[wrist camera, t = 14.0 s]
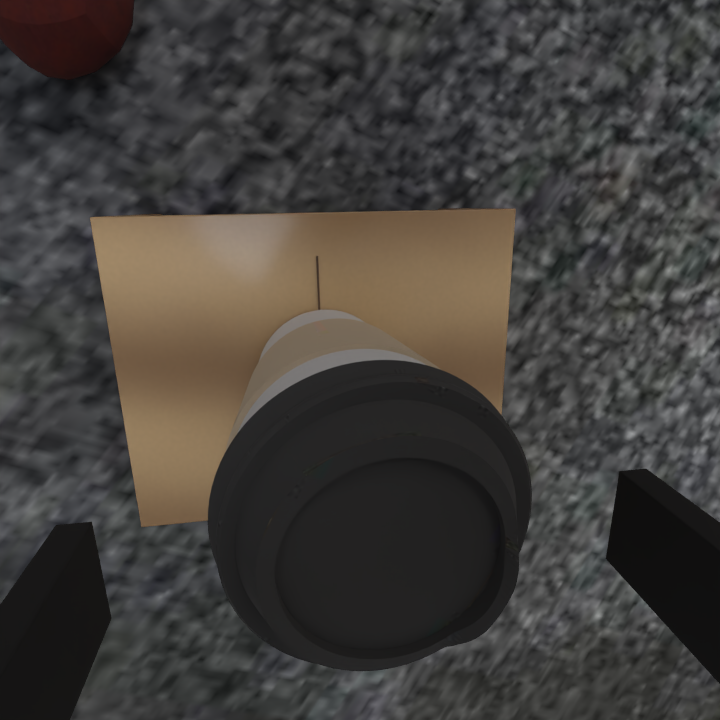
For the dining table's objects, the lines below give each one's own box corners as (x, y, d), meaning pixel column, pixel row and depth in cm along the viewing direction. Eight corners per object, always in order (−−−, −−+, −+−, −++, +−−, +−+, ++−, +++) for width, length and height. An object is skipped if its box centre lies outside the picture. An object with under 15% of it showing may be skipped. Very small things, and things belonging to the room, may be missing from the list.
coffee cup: (202, 414, 26) (128, 673, 11) (284, 253, 24) (315, 321, 10) (357, 478, 28) (452, 751, 14) (439, 336, 27) (639, 483, 13)
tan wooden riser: (142, 214, 31) (88, 217, 22) (455, 208, 34) (516, 208, 25) (174, 449, 36) (140, 528, 27) (447, 427, 39) (497, 492, 30)
